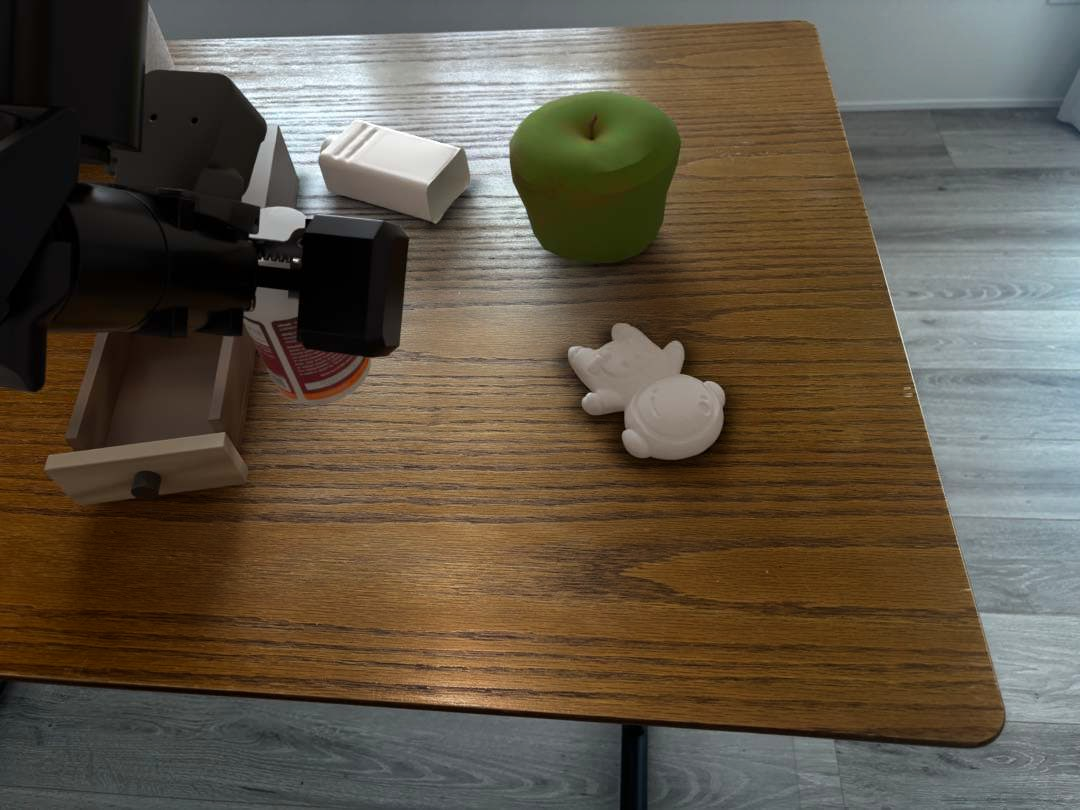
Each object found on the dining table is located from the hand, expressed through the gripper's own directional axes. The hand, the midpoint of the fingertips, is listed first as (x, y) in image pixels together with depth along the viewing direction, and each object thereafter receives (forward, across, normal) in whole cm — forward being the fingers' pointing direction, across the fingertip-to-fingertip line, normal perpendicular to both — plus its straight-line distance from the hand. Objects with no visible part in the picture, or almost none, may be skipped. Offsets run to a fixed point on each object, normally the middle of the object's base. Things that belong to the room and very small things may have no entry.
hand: (301, 278), depth 49 cm
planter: (+32, +38, -14) cm, 51 cm away
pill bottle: (+4, 0, +6) cm, 7 cm away
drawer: (+8, +13, +10) cm, 18 cm away
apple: (+24, -13, -6) cm, 28 cm away
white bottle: (+27, +6, -8) cm, 29 cm away
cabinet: (+19, +18, -1) cm, 27 cm away
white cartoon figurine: (+14, -19, +5) cm, 24 cm away
